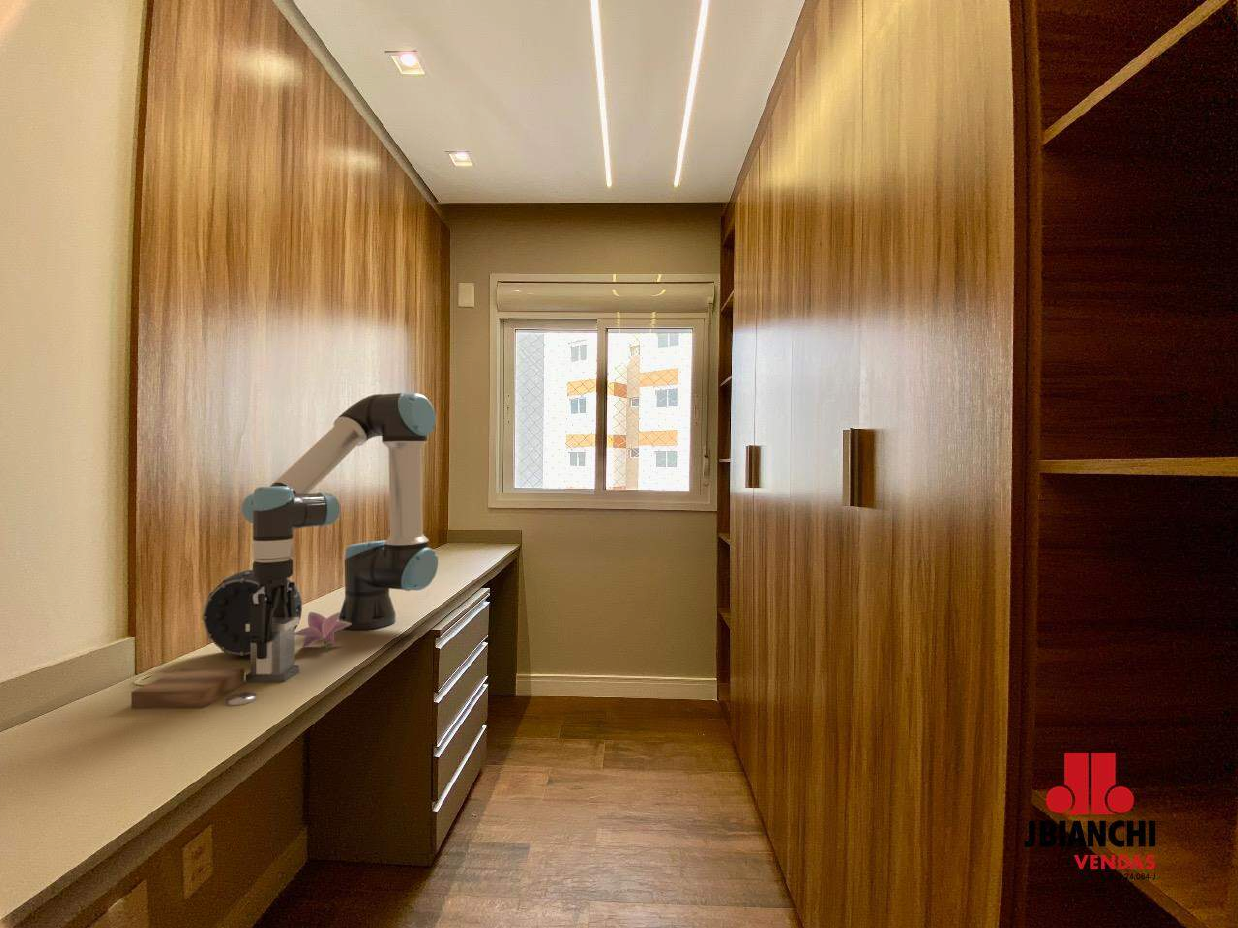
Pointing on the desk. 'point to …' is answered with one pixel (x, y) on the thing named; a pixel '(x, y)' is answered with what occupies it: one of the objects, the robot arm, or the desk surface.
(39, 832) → the desk surface
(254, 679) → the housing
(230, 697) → the domed puck
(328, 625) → the lily
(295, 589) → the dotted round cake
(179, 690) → the walnut stand
